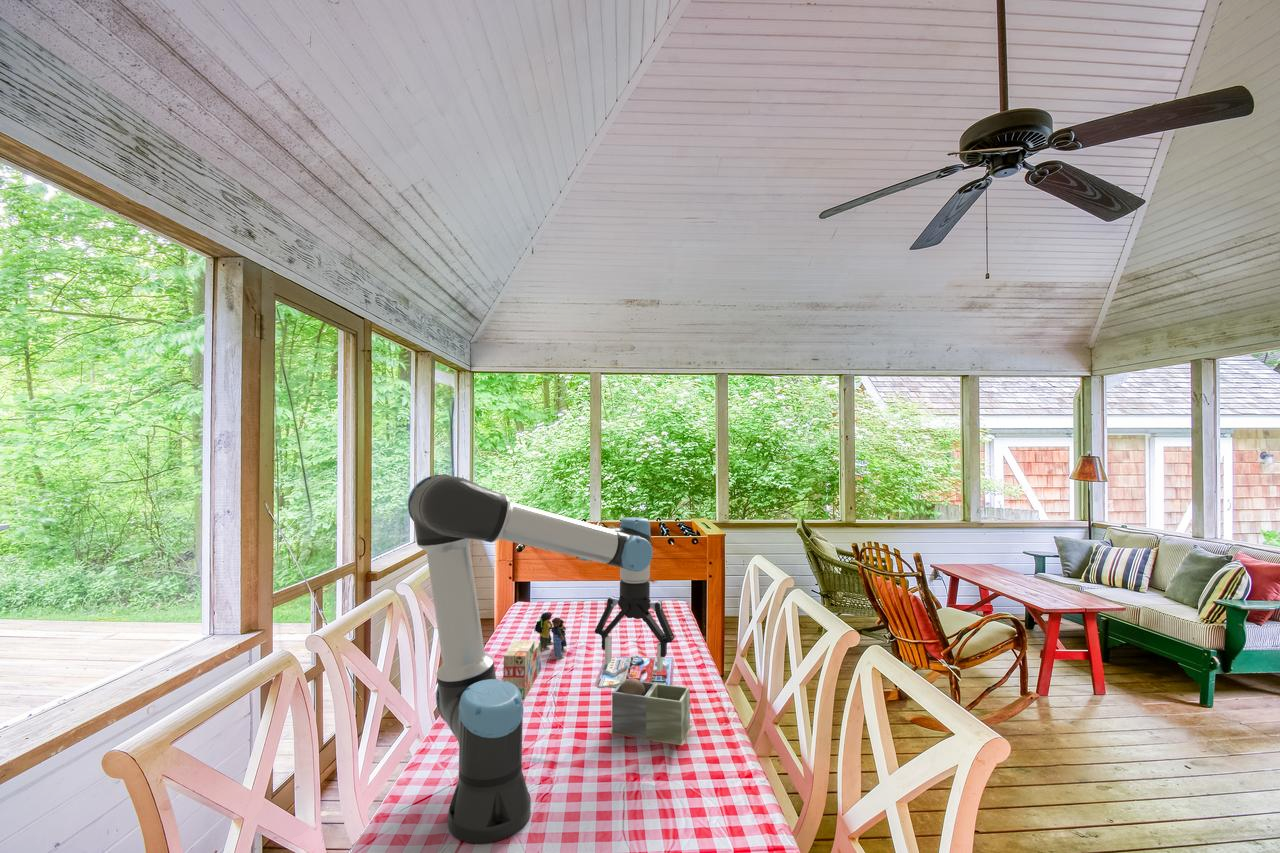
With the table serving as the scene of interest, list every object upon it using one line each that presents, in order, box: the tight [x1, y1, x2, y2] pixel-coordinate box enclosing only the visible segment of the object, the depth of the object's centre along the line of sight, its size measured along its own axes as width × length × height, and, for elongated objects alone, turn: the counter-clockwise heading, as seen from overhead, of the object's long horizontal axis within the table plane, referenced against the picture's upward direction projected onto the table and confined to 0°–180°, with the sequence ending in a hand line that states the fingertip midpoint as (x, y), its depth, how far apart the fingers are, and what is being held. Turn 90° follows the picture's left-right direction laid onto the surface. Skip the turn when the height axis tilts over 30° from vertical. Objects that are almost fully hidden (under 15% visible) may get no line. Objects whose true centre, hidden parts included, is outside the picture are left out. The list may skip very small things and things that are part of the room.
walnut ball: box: [621, 678, 645, 696], centre depth 141 cm, size 6×6×6 cm
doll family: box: [531, 611, 569, 660], centre depth 198 cm, size 23×9×13 cm, turn 42°
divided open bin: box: [608, 679, 693, 747], centre depth 140 cm, size 10×18×10 cm, turn 72°
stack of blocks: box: [502, 640, 542, 700], centre depth 170 cm, size 21×6×12 cm, turn 178°
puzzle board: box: [593, 654, 674, 690], centre depth 174 cm, size 30×23×3 cm
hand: (633, 666), depth 141 cm, fingers open, 13 cm apart
